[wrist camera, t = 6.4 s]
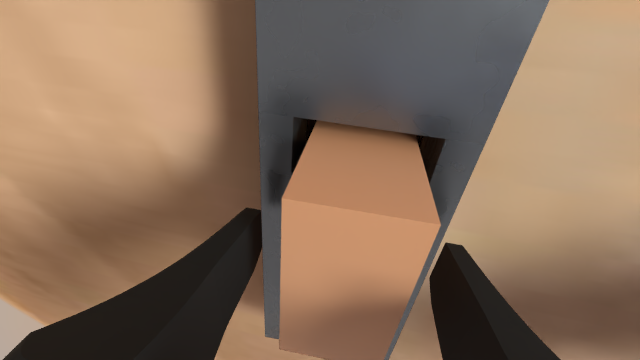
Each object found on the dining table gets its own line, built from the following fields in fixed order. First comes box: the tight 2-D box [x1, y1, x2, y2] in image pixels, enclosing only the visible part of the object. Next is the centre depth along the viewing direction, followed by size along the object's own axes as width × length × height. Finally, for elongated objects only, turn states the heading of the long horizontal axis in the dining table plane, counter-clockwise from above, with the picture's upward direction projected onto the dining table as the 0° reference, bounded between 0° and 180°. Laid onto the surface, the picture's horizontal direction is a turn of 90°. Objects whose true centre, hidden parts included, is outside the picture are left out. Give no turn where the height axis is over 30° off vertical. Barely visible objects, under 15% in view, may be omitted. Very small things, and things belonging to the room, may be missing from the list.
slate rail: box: [255, 0, 549, 360], centre depth 14 cm, size 22×8×3 cm, turn 175°
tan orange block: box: [279, 120, 441, 360], centre depth 12 cm, size 8×4×7 cm, turn 175°
